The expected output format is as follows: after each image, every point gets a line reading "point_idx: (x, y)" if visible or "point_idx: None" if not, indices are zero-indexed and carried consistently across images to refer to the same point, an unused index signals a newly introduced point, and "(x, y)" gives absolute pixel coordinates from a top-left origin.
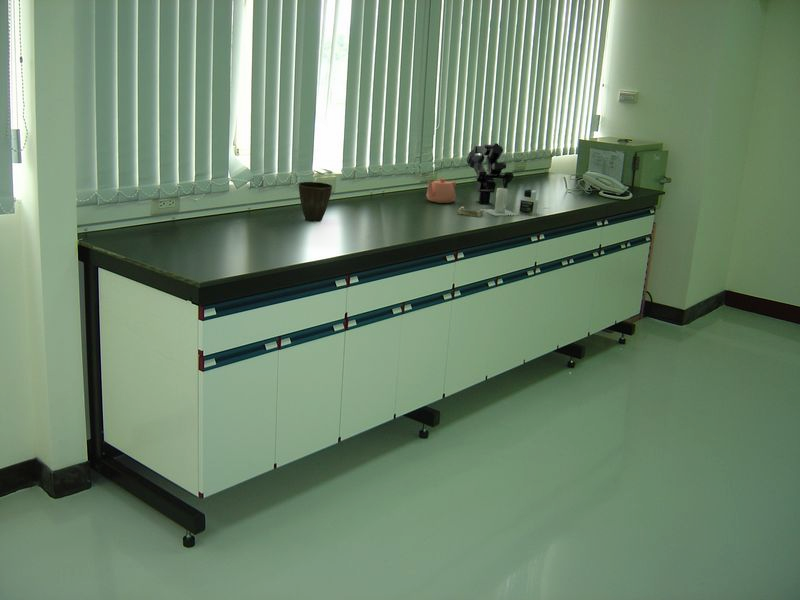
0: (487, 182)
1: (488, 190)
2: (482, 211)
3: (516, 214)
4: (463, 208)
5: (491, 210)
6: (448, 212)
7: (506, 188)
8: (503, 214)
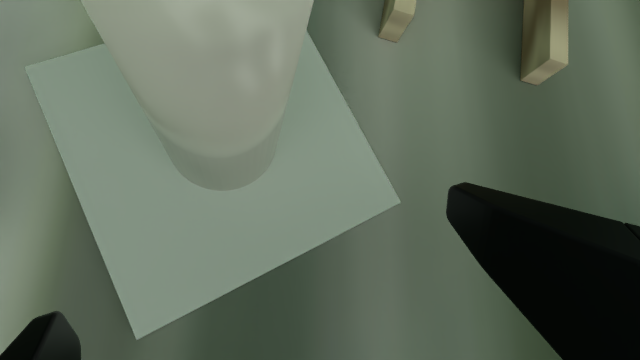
0: (632, 245)
1: (453, 208)
2: (389, 8)
3: (45, 82)
4: (542, 46)
5: (304, 192)
6: (601, 22)
7: (10, 348)
8: None
